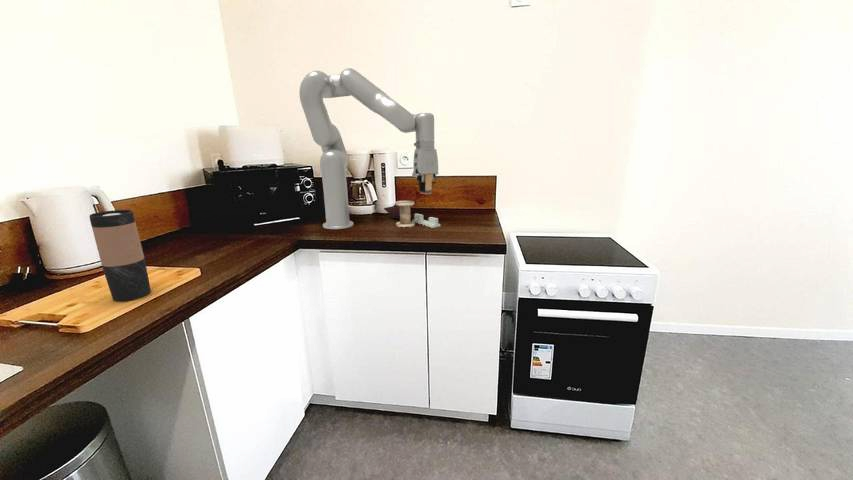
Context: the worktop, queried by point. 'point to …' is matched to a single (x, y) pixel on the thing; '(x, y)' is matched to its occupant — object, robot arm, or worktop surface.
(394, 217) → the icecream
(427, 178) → the tan rectangular block
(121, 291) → the travel mug
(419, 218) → the notch board
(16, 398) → the worktop surface
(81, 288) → the worktop surface
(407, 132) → the robot arm
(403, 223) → the spool
